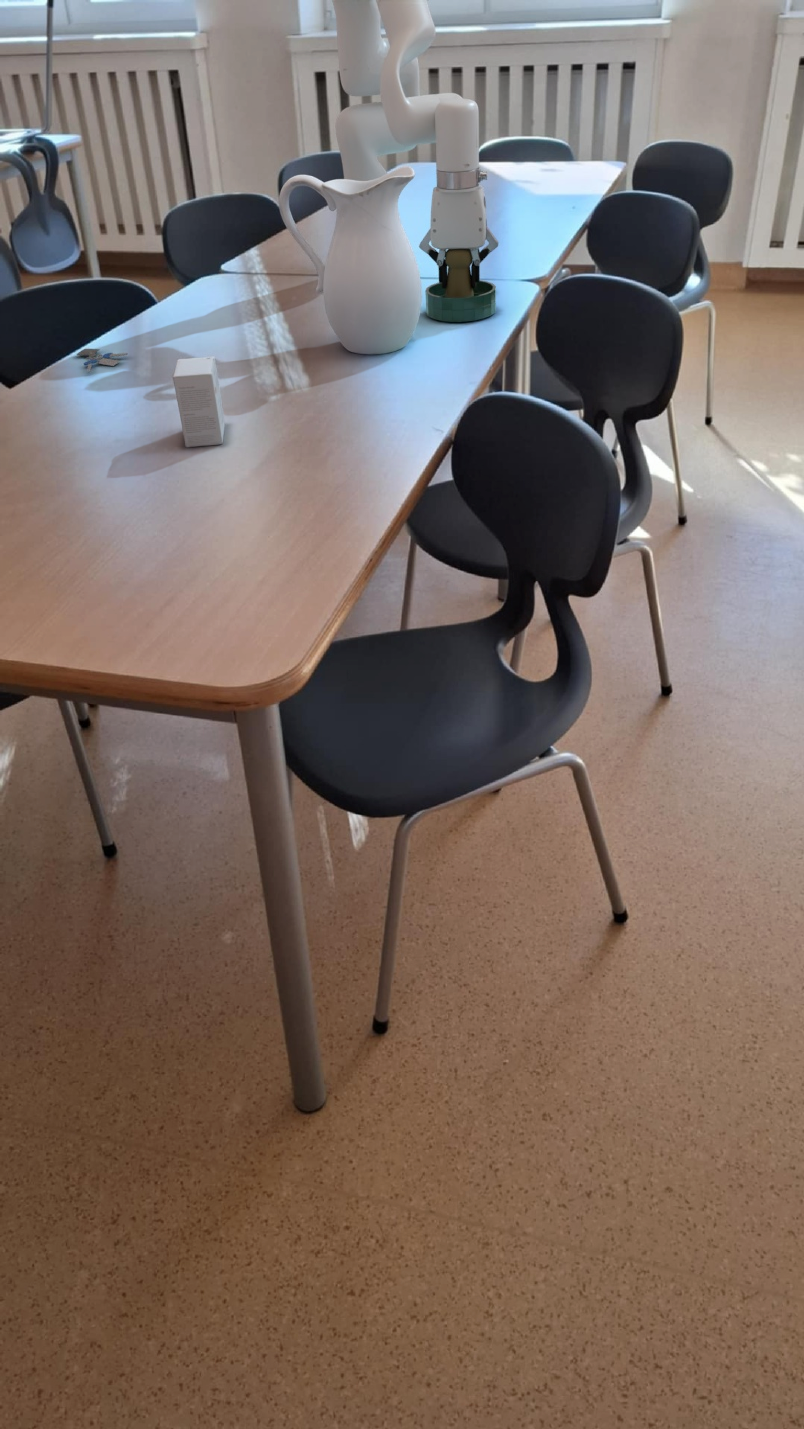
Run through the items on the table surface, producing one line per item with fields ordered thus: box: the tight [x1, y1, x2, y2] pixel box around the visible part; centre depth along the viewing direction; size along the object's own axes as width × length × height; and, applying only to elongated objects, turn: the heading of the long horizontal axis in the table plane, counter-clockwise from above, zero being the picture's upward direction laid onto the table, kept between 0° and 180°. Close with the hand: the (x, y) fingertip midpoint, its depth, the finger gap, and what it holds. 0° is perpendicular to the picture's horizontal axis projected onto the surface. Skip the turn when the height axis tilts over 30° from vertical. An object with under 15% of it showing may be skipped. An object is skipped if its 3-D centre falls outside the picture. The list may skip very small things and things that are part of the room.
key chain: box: [76, 348, 128, 373], centre depth 190 cm, size 14×8×1 cm, turn 23°
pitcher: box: [278, 165, 423, 355], centre depth 182 cm, size 24×17×28 cm
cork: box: [445, 249, 474, 298], centre depth 199 cm, size 6×6×11 cm
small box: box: [172, 356, 226, 448], centre depth 155 cm, size 8×6×10 cm
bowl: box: [424, 279, 497, 323], centre depth 201 cm, size 13×13×4 cm
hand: (459, 285), depth 200 cm, fingers closed on cork, 4 cm apart
